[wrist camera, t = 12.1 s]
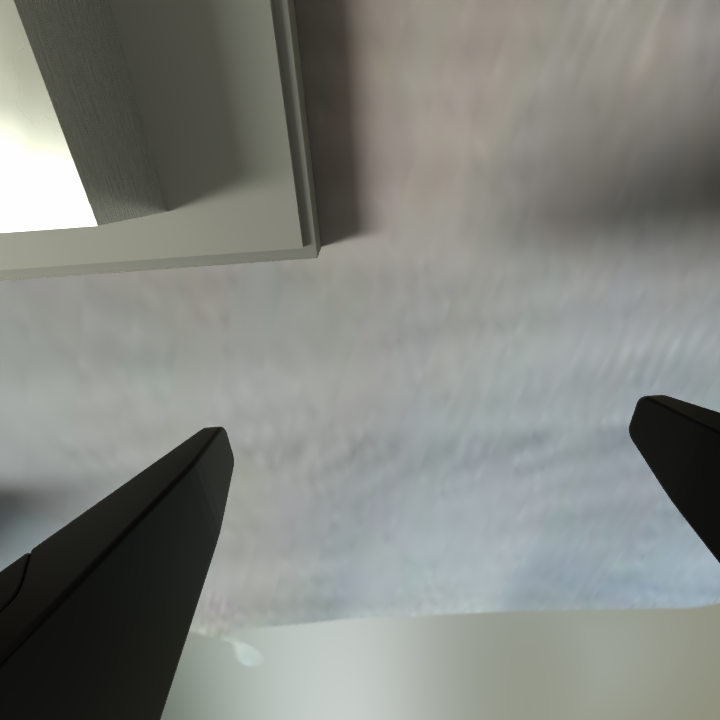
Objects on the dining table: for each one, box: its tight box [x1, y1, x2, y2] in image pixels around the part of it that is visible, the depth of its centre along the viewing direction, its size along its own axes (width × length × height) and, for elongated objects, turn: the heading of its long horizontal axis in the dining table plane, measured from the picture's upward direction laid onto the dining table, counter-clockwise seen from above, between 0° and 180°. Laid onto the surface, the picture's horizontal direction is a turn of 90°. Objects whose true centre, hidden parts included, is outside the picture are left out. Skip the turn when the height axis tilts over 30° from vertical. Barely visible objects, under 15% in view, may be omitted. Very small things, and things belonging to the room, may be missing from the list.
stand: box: [0, 0, 321, 281], centre depth 13 cm, size 16×14×3 cm
